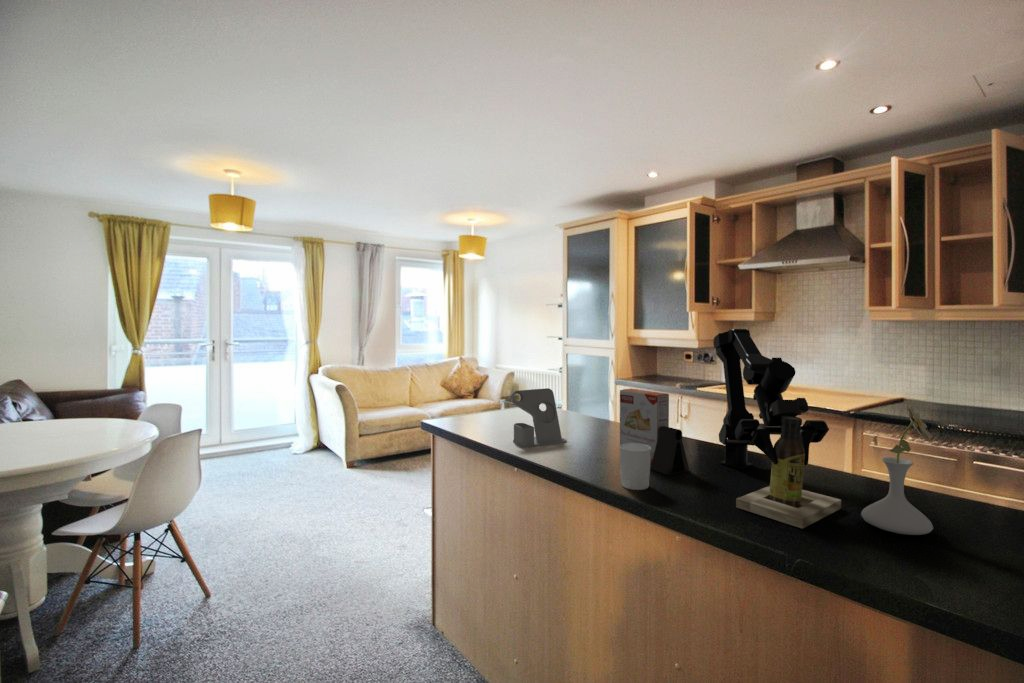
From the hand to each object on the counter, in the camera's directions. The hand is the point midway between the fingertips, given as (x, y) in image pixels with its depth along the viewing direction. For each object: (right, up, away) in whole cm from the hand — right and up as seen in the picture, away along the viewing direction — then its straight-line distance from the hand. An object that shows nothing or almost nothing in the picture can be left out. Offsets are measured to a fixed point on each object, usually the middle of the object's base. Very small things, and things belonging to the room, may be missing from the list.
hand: (791, 464), depth 108 cm
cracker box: (-22, -9, +40) cm, 46 cm away
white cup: (-30, -10, +17) cm, 36 cm away
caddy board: (0, -10, +2) cm, 10 cm away
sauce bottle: (0, -10, +2) cm, 10 cm away
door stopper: (-17, -9, +30) cm, 36 cm away
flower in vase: (+16, -11, -9) cm, 22 cm away
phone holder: (-52, -8, +63) cm, 82 cm away
